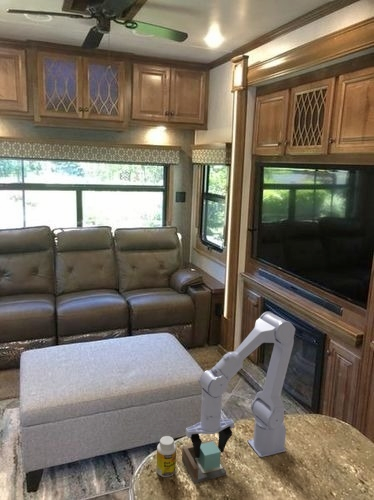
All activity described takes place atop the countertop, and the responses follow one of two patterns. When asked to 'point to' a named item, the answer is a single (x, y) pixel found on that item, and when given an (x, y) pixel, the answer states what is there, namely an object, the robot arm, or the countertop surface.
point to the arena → (199, 466)
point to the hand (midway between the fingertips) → (209, 452)
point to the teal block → (209, 456)
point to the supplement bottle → (166, 457)
